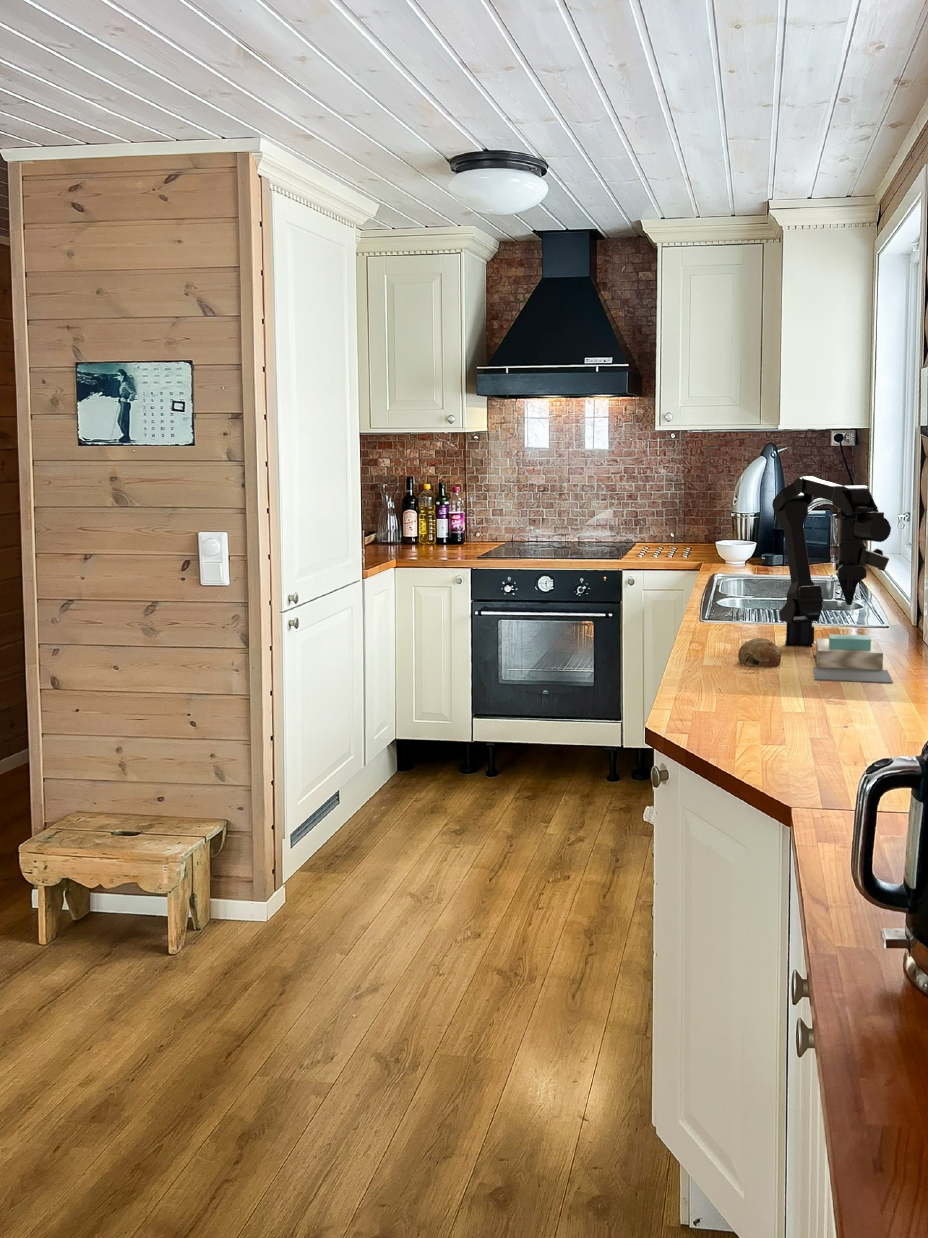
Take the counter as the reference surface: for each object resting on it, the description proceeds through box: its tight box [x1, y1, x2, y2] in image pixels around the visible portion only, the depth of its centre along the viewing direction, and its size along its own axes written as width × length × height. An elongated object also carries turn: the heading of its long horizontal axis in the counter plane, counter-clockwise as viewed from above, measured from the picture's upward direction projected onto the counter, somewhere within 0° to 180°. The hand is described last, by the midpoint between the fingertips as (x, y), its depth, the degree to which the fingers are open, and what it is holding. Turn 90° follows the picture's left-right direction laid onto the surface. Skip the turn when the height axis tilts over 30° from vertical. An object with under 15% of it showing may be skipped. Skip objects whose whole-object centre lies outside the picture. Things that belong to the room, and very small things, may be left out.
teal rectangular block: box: [828, 633, 872, 651], centre depth 268 cm, size 9×6×2 cm, turn 75°
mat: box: [812, 666, 893, 684], centre depth 256 cm, size 16×14×1 cm
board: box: [815, 637, 884, 670], centre depth 272 cm, size 14×18×4 cm
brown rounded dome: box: [737, 637, 782, 668], centre depth 271 cm, size 10×10×8 cm
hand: (848, 604), depth 276 cm, fingers open, 2 cm apart
